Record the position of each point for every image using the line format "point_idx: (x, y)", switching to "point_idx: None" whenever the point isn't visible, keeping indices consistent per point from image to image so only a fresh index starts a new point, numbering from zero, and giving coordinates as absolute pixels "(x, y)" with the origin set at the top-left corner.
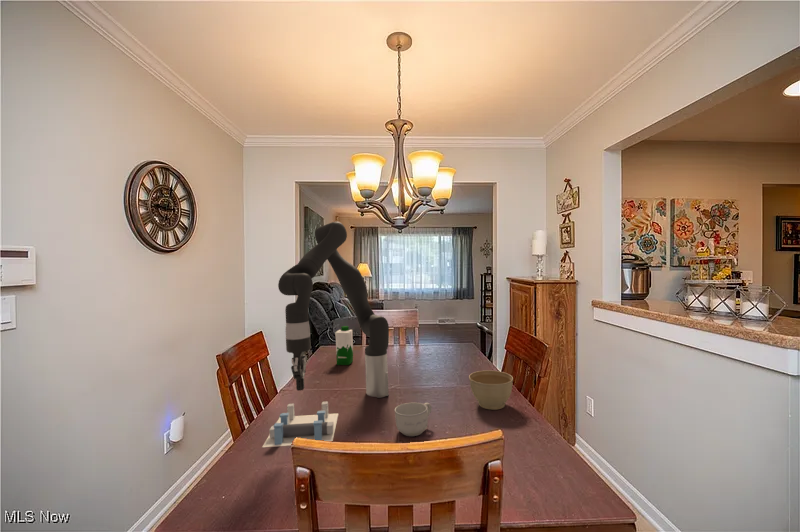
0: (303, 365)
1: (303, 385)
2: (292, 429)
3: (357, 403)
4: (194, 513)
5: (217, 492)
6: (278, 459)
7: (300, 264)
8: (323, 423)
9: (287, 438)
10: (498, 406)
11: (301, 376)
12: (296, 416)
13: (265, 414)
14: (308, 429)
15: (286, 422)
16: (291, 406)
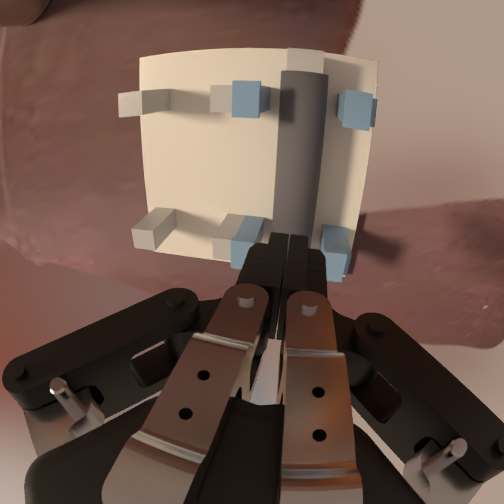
0: (351, 434)
1: (304, 250)
2: (313, 207)
3: (72, 25)
4: (496, 331)
5: (468, 319)
6: (412, 225)
7: None
8: (309, 86)
9: None
10: None
11: (413, 339)
12: (150, 201)
13: (130, 285)
14: (321, 146)
15: (258, 234)
16: (154, 234)
